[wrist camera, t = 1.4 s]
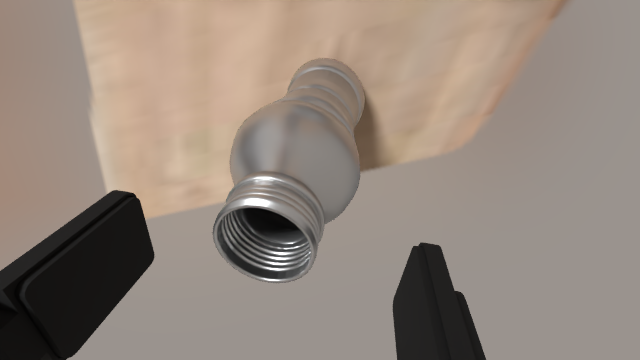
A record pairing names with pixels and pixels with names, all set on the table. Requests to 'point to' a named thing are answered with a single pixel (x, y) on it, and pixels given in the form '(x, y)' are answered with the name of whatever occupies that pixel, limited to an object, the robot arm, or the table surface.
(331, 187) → the metal water bottle
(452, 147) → the table surface
